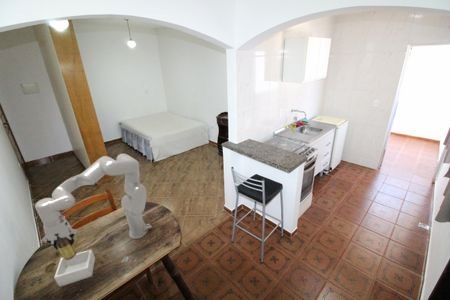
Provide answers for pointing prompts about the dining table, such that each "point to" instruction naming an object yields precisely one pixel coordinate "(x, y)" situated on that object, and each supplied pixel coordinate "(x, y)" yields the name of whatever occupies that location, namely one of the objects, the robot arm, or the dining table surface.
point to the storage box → (75, 268)
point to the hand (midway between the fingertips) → (65, 245)
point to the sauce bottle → (65, 247)
